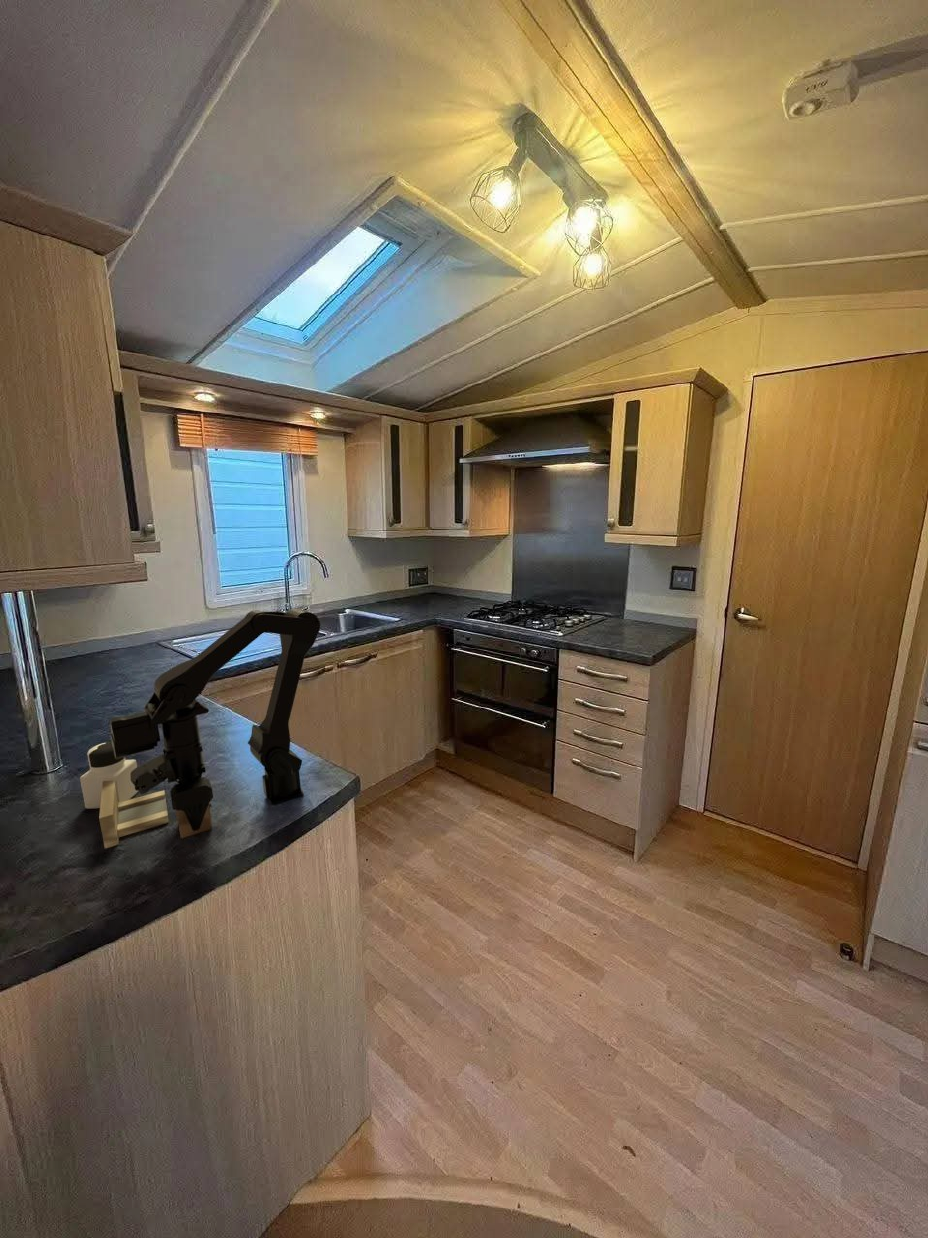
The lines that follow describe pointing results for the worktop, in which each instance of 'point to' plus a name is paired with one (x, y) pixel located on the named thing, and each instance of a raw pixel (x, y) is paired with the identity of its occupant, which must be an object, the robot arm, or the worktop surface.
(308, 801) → the worktop surface
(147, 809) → the cleat board
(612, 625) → the worktop surface
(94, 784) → the medicine bottle
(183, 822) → the cabinet block
